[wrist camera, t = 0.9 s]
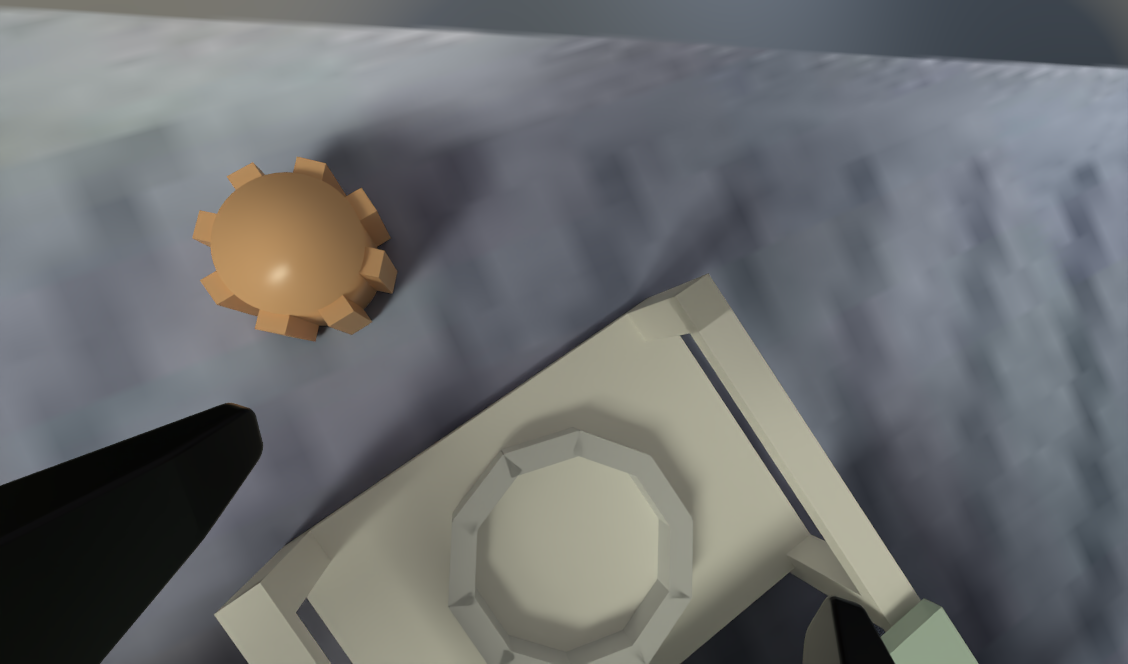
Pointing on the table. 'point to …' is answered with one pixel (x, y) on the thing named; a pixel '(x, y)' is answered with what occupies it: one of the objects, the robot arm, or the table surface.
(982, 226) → the table surface
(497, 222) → the table surface
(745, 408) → the housing
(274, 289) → the gear hub
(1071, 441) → the table surface
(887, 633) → the sliding lid
